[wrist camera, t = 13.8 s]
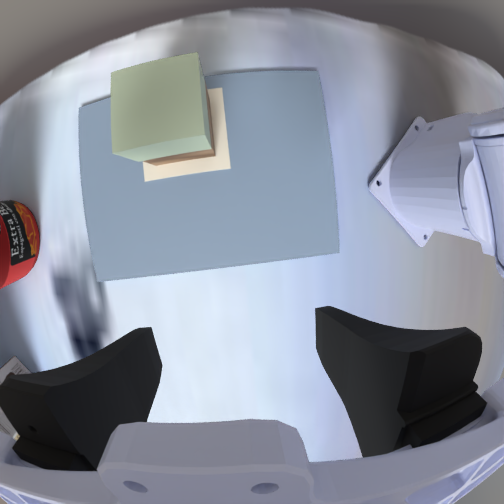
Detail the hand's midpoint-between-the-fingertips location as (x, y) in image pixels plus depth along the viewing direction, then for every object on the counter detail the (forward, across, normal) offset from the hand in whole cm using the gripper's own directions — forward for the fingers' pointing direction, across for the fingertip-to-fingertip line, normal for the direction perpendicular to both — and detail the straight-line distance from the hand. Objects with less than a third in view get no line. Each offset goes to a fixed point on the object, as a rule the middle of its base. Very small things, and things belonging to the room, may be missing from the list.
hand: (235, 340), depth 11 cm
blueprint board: (+10, +2, -8) cm, 13 cm away
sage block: (+6, +2, -11) cm, 13 cm away
